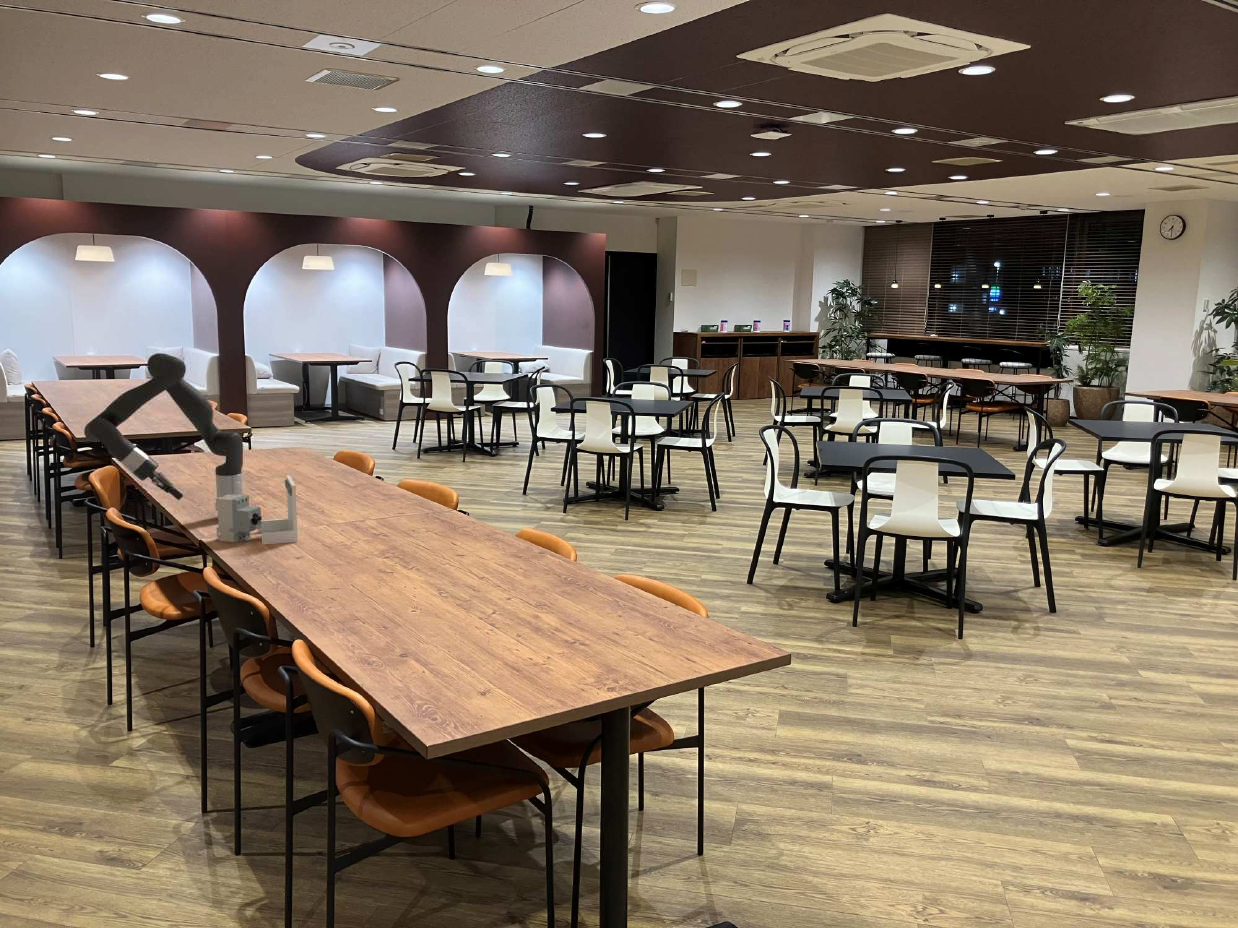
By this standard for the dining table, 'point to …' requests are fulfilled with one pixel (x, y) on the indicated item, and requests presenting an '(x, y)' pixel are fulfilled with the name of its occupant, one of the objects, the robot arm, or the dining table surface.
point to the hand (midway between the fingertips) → (181, 497)
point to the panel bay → (282, 521)
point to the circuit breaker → (236, 518)
